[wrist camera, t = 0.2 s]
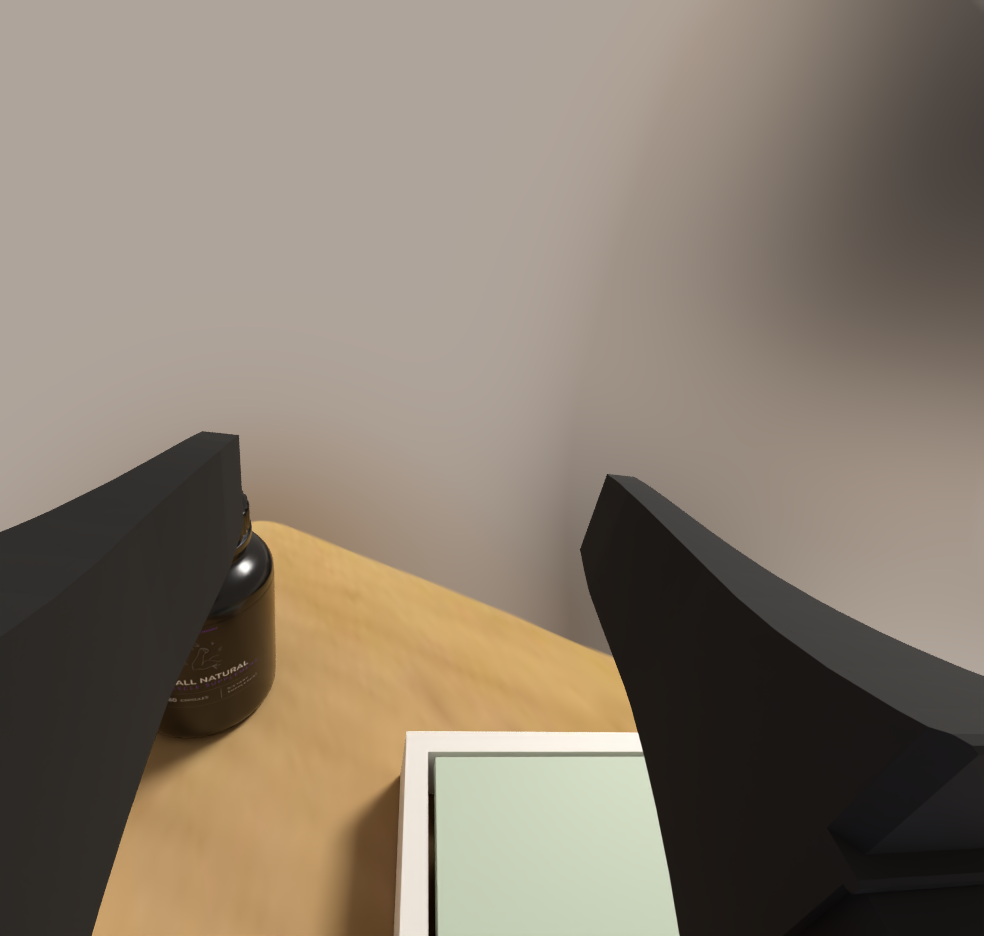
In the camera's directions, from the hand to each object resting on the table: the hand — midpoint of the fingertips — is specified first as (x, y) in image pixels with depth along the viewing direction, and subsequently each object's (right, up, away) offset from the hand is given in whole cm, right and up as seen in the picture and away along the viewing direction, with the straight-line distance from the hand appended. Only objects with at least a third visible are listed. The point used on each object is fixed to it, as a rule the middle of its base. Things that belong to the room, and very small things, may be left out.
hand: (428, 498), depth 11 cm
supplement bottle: (-14, -11, +19) cm, 26 cm away
